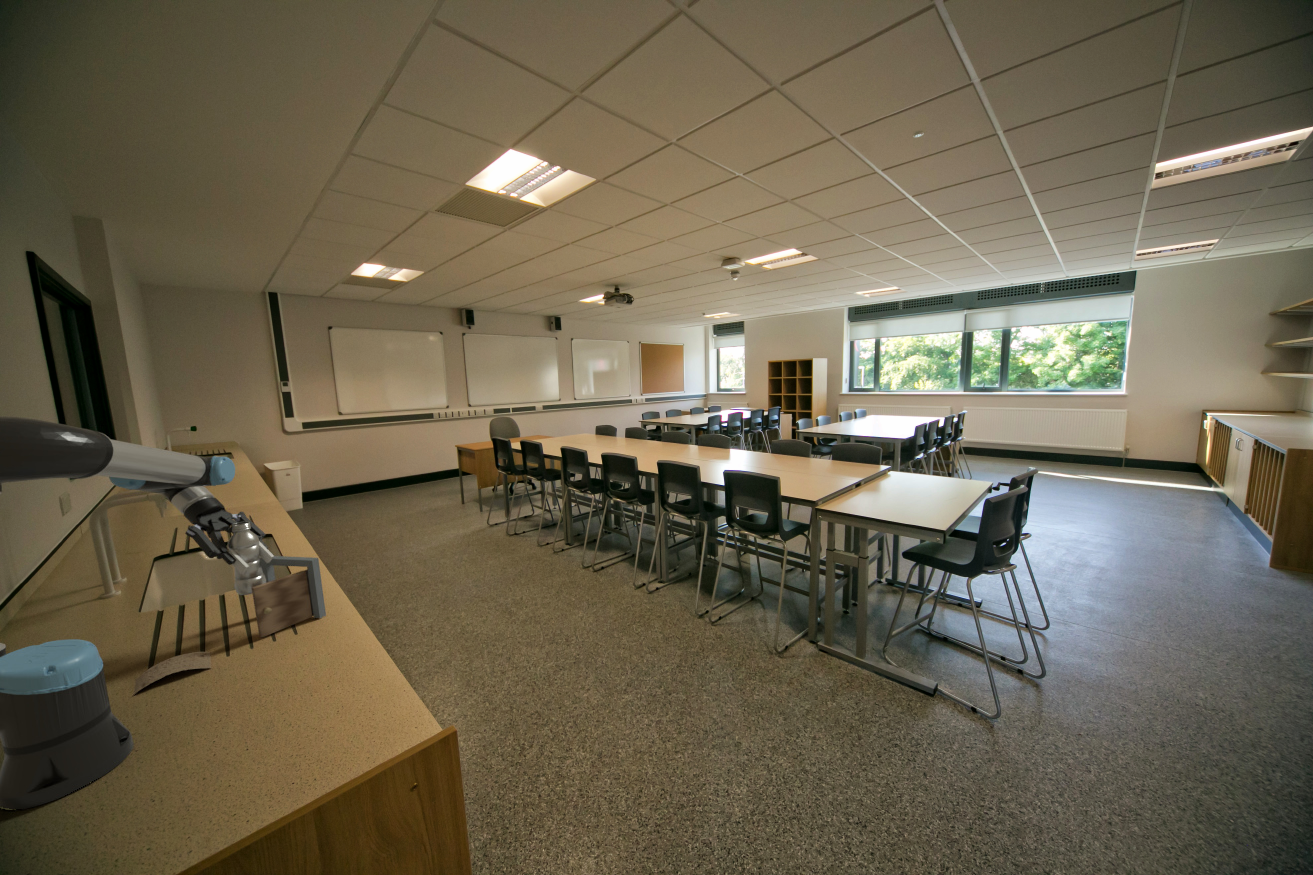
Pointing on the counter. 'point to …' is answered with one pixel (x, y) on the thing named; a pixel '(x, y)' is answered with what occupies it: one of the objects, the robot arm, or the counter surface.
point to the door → (282, 602)
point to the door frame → (313, 576)
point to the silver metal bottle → (246, 558)
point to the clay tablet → (173, 667)
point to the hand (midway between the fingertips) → (258, 564)
